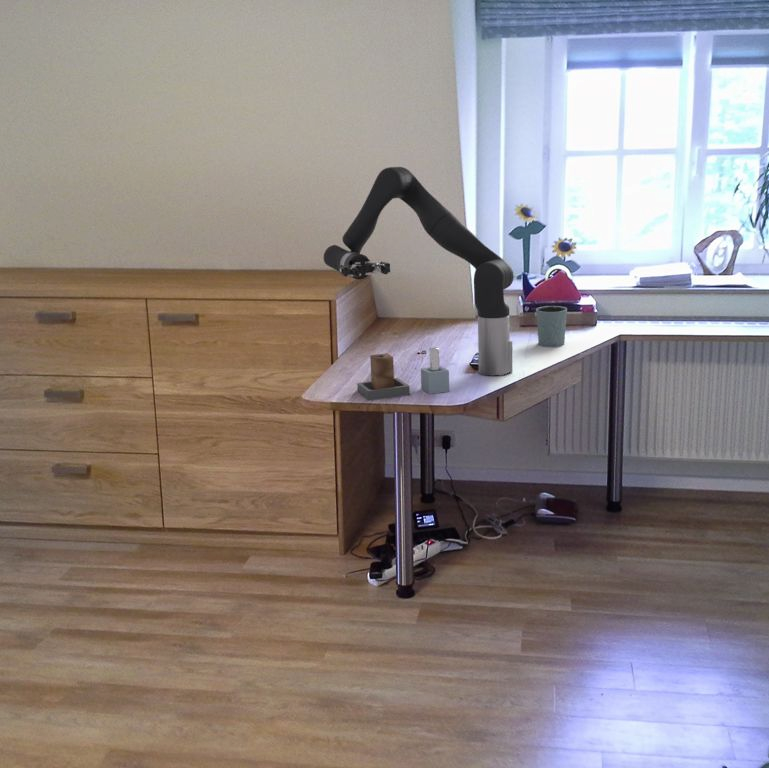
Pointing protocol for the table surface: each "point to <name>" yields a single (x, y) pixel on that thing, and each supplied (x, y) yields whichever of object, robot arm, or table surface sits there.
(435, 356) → the cylinder
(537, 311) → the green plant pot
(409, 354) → the table surface
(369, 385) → the tray
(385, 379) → the walnut block
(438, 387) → the square socket block
